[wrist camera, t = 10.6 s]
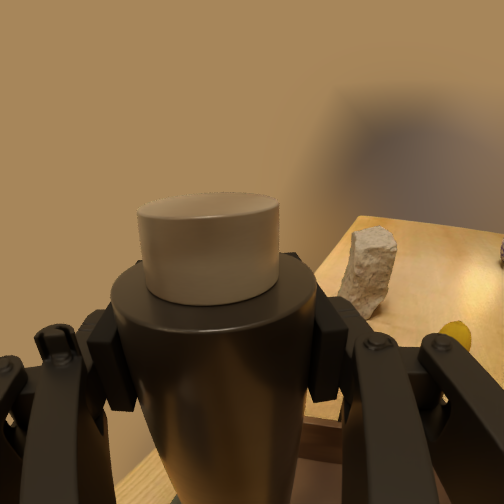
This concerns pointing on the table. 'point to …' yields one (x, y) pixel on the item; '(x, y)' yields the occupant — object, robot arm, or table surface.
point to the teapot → (502, 251)
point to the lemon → (458, 333)
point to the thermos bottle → (219, 345)
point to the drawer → (316, 464)
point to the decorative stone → (368, 269)
